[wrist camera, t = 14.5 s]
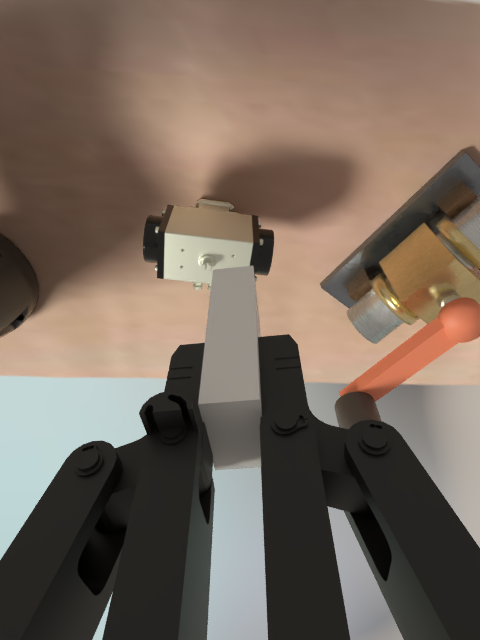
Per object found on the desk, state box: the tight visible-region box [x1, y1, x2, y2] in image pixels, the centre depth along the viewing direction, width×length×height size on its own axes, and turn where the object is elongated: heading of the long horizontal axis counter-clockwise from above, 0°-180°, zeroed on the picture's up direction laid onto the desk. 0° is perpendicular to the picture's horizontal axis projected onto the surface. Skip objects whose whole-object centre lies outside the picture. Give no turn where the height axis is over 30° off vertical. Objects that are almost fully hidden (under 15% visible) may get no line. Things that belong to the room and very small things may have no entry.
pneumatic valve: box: [143, 199, 274, 291], centre depth 41 cm, size 6×12×12 cm, turn 83°
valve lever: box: [335, 297, 480, 429], centre depth 36 cm, size 17×4×12 cm, turn 142°
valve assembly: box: [320, 150, 480, 344], centre depth 43 cm, size 20×9×13 cm, turn 142°
